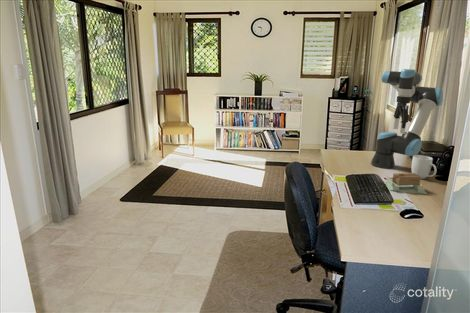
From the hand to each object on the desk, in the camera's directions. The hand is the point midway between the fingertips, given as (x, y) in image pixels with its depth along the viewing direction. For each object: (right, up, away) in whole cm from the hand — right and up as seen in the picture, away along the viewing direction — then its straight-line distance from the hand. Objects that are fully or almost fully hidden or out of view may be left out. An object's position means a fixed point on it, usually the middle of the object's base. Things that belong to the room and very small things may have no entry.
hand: (398, 131), depth 215 cm
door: (-3, -31, -16) cm, 35 cm away
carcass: (-4, -34, -15) cm, 37 cm away
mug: (+16, -29, +5) cm, 34 cm away
